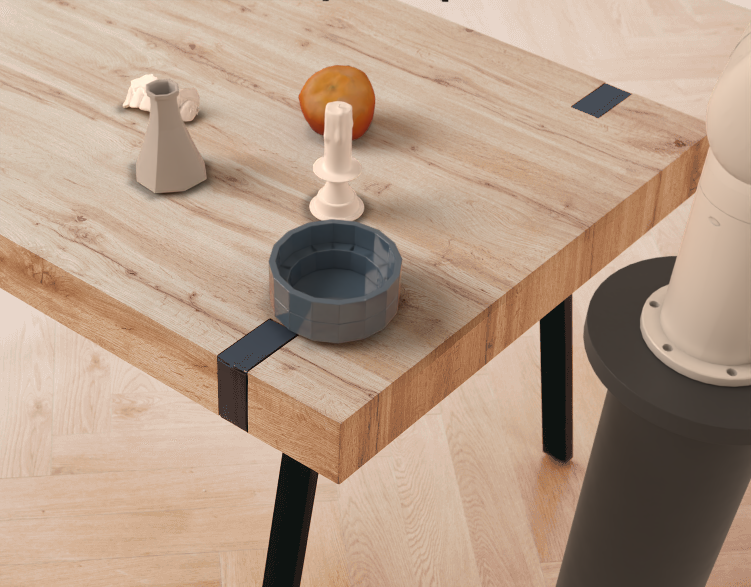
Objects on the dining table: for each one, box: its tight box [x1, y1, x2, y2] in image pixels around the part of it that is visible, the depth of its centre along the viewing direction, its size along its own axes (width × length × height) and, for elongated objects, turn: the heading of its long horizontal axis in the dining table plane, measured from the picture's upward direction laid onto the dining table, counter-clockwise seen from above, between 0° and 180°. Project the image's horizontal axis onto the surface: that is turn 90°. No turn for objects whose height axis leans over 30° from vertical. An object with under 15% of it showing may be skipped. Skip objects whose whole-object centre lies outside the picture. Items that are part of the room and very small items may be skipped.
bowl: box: [268, 219, 403, 344], centre depth 93 cm, size 11×11×5 cm
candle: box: [308, 101, 365, 221], centre depth 101 cm, size 5×5×12 cm
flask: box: [135, 78, 208, 194], centre depth 105 cm, size 7×7×10 cm
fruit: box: [298, 64, 376, 141], centre depth 114 cm, size 8×8×8 cm
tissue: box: [122, 73, 201, 122], centre depth 116 cm, size 6×8×4 cm
